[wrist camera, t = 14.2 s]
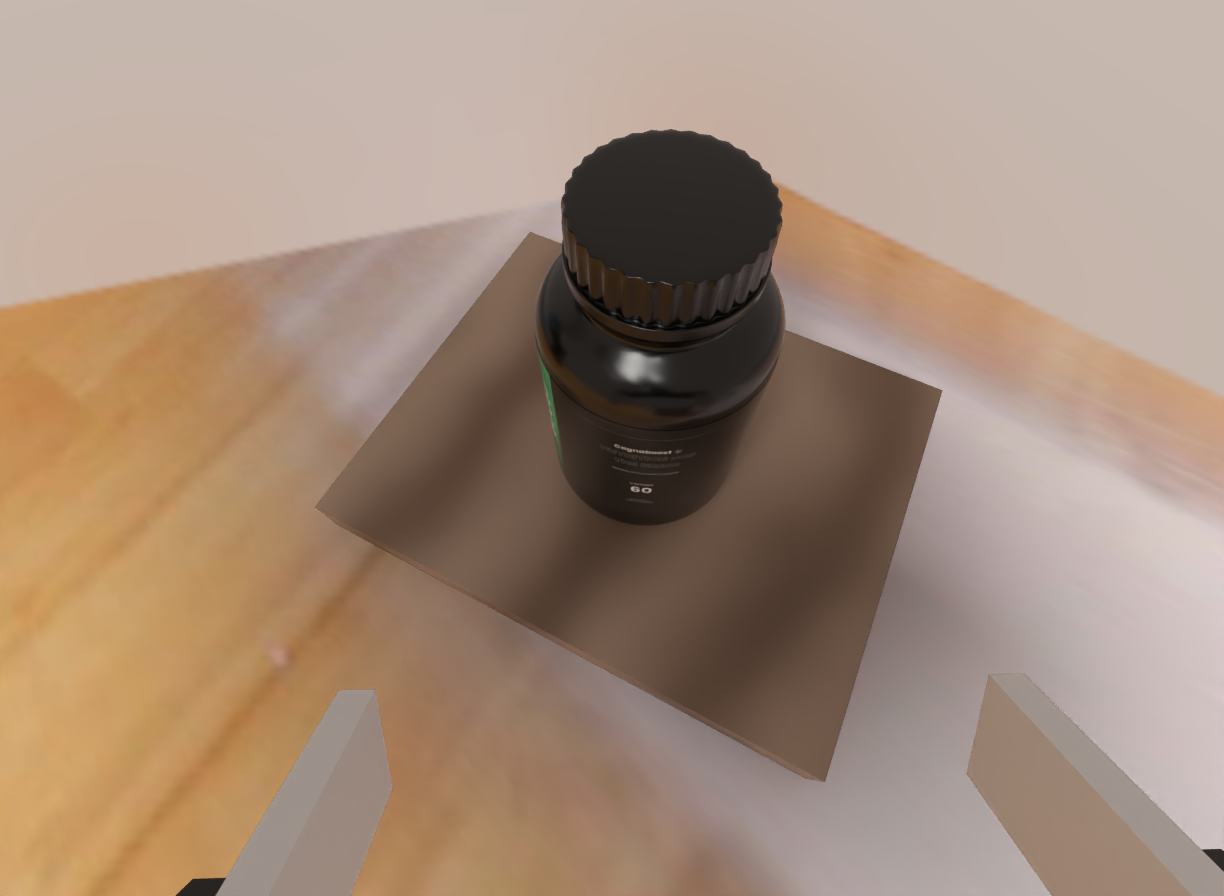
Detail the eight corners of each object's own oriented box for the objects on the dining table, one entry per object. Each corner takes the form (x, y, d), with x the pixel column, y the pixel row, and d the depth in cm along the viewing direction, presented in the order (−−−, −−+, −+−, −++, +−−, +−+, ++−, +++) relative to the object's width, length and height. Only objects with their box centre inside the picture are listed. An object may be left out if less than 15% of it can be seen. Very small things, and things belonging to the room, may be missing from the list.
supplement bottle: (531, 498, 22) (457, 274, 12) (592, 358, 25) (578, 75, 14) (704, 554, 21) (800, 368, 11) (747, 402, 24) (856, 134, 14)
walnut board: (336, 524, 24) (315, 506, 22) (534, 262, 30) (529, 231, 29) (805, 778, 20) (824, 782, 18) (919, 414, 26) (942, 390, 25)
